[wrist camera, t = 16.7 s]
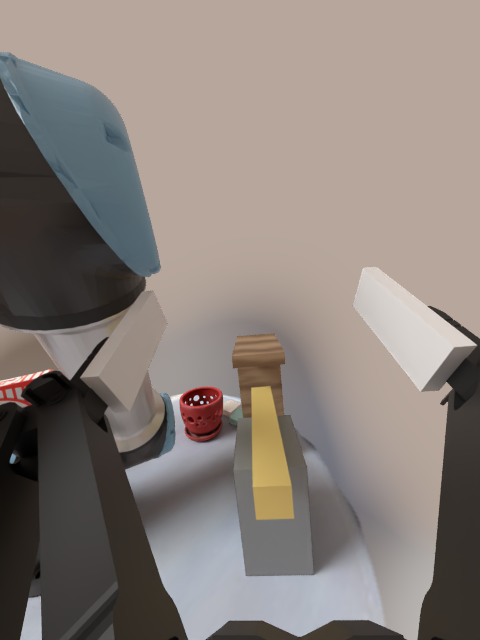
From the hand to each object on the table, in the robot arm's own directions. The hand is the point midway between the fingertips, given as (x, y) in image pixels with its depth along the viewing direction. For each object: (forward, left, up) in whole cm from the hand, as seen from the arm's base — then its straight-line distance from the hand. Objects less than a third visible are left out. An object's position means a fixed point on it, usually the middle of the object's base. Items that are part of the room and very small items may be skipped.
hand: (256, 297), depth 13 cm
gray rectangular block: (-9, +15, -42) cm, 45 cm away
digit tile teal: (-30, +39, -42) cm, 65 cm away
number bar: (-8, +14, -24) cm, 29 cm away
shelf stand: (-16, +28, -42) cm, 53 cm away
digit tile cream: (-37, +42, -42) cm, 70 cm away
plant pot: (-38, +30, -42) cm, 64 cm away
